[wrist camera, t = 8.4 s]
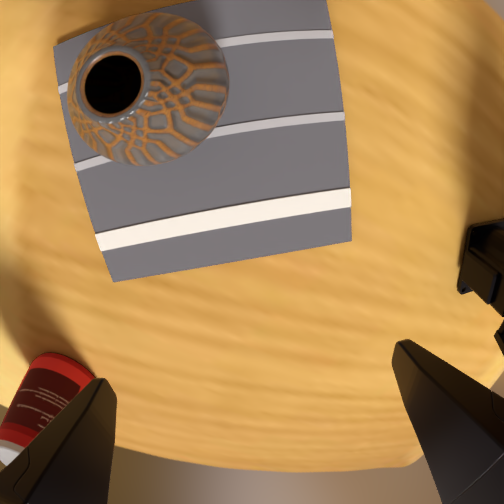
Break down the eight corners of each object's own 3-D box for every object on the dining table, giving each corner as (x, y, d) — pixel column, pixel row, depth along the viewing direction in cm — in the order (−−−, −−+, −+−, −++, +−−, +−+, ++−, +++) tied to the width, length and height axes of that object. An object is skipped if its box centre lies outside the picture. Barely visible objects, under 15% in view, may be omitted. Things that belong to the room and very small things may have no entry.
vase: (162, 175, 17) (115, 241, 10) (83, 96, 15) (-13, 106, 7) (254, 92, 16) (285, 86, 8) (171, 9, 13) (129, -58, 5)
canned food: (70, 409, 27) (45, 492, 17) (20, 359, 24) (-23, 444, 14) (120, 398, 26) (99, 498, 16) (65, 341, 23) (19, 446, 13)
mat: (320, -7, 13) (324, -11, 13) (348, 237, 21) (352, 241, 20) (57, 47, 13) (52, 46, 13) (115, 277, 21) (112, 282, 20)
